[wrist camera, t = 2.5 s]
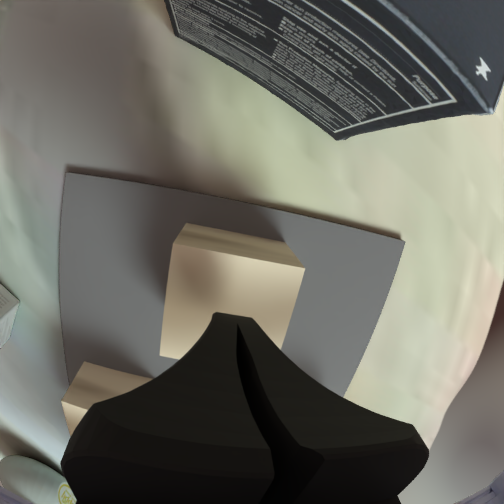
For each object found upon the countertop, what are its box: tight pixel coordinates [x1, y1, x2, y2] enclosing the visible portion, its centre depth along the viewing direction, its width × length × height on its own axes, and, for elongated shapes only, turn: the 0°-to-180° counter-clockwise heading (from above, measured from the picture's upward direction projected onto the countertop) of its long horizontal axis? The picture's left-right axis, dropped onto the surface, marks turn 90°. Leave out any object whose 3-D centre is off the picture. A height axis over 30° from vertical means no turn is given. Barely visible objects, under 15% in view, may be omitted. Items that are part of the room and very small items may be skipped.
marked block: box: [61, 361, 152, 436], centre depth 15 cm, size 5×5×4 cm
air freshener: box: [0, 455, 76, 504], centre depth 16 cm, size 11×8×10 cm
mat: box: [59, 172, 405, 397], centre depth 17 cm, size 18×19×1 cm
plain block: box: [160, 223, 305, 360], centre depth 14 cm, size 5×5×4 cm
